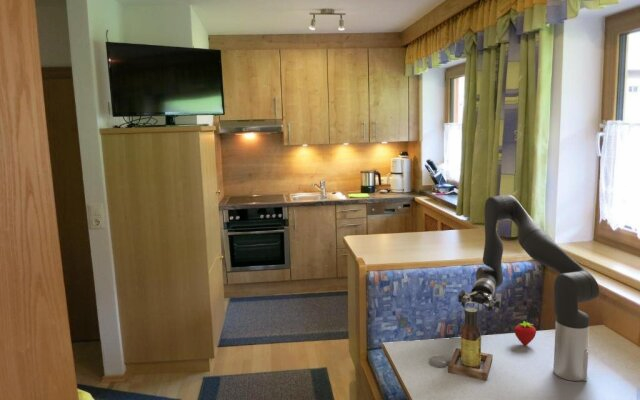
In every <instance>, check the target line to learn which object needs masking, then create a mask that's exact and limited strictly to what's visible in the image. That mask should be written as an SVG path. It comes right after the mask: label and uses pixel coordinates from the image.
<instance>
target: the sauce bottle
mask: <svg viewBox="0 0 640 400" xmlns="http://www.w3.org/2000/svg"><path fill="white" fill-rule="evenodd" d="M478 314H479V312H478V309H477V308H474V307H464V324H463V325H462V327H461V333H460V335H461V336H460V349H461V358H460V360H461V361H460V362H461V366H465V367H470V368H475V369H480V370H481V364H482V362H481V353H482V332H481V329H480V327H479V324H478Z"/></svg>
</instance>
